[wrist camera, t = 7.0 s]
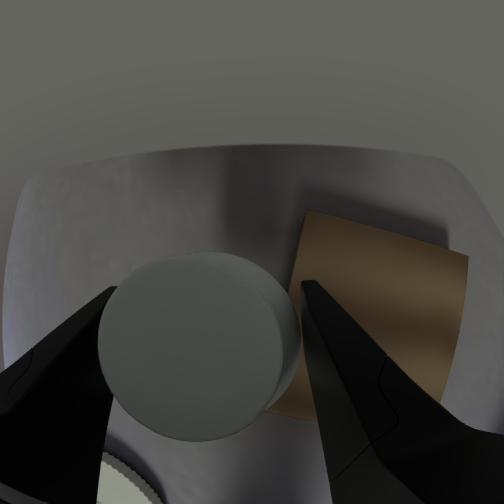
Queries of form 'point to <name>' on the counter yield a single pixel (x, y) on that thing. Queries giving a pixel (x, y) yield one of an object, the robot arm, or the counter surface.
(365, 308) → the walnut plinth
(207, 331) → the supplement bottle
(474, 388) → the counter surface
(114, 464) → the plastic lid
